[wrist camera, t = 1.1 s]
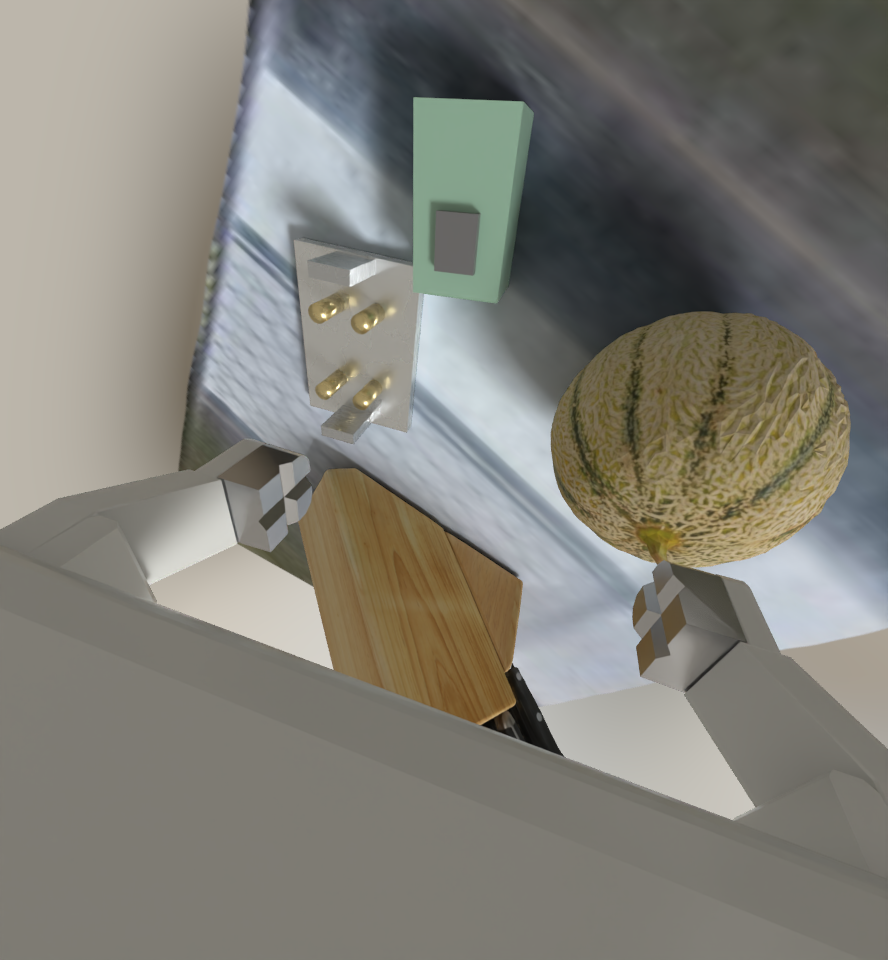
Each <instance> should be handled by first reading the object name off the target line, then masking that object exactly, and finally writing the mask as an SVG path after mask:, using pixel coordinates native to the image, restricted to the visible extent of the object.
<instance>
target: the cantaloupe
mask: <svg viewBox="0 0 888 960" xmlns="http://www.w3.org/2000/svg"><path fill="white" fill-rule="evenodd" d="M850 424H851V422H850V412H849V408H848V403H847V401H846V400H845V399H844V395H843V394H842V393H841V386H839V385H838V384H837V383H836V378H835V377H834V375H833V374H832V372H831V371H830V370H829V369H827V368H826V367H825V366H824V365H823V364H822V362H820V359H819V358H817V355H816V352H815V351H814V349H813V348H812V347H811V346H810V345H809V344H808V343H807V342H806V341H805V340H804V339H802V338H801V337H799V336H798V335H796V334H794V333H792V332H791V331H789V330H788V329H786V328H785V327H783V326H781V325H779V324H778V323H777V322H774V321H770V320H768V319H767V318H766V317H759V316H755V315H753V314H751V313H746V314H742V313H725V314H722V313H717V312H706V311H704V312H689V313H683V314H677V315H673V316H672V315H671V316H668V317H666V318H663V319H660V320H658V321H656V322H654V323H652V324H650V325H647V326H643V327H639V328H636V329H635V330H633V331H631V332H628V333H626V334H624V335H622V336H620V337H619V338H617V339H616V340H615V341H614V342H612V343H611V344H609V345H608V346H607V347H605V348H604V349H603V350H602V351H601V352H600V353H598V354H597V355H596V356H595V357H594V358H593V359H592V361H591V362H590V363H589V364H588V365H587V366H586V367H585V368H584V369H583V370H581V371H580V372H579V373H578V374H577V376H576V377H575V378H574V379H573V381H572V382H571V384H570V386H569V387H568V388H567V390H566V392H565V393H564V395H563V396H562V398H561V399H560V401H559V404H558V407H557V410H556V413H555V416H554V421H553V423H552V429H551V452H552V459H553V467H554V473H555V477H556V481H557V485H558V487H559V490H560V492H561V495H562V497H563V498H564V500H565V501H566V503H567V504H568V506H569V507H570V508H571V510H572V512H573V513H574V515H575V516H576V517H577V518H578V519H579V520H580V521H582V522H583V523H584V524H585V525H586V526H588V527H589V528H590V529H591V530H592V531H593V532H594V533H595V534H596V535H597V536H598V537H600V538H601V539H602V540H604V541H605V542H607V543H608V544H610V545H612V546H613V547H615V548H616V549H618V550H621V551H624V552H627V553H629V554H631V555H634V556H636V557H638V558H640V559H643V560H646V561H649V562H654V563H657V565H658V564H659V563H660V562H662V561H663V560H666V561H669V562H673V563H676V564H680V565H683V566H687V567H708V566H714V565H718V564H722V563H727V562H732V561H740V560H744V559H748V558H751V557H754V556H757V555H759V554H762V553H766V552H767V551H769V550H770V549H772V548H774V547H776V546H778V545H779V544H781V543H783V542H784V541H786V540H788V539H789V538H790V537H791V536H793V535H794V534H795V533H796V532H798V531H799V530H800V529H801V528H803V527H804V526H805V525H806V524H807V523H808V522H809V521H811V520H812V519H813V518H814V517H815V516H817V515H818V514H819V513H820V512H821V511H822V509H823V506H824V504H825V502H826V500H827V499H828V498H829V497H830V496H831V495H832V494H833V493H834V492H835V490H836V488H837V486H838V483H839V481H840V479H841V477H842V475H843V473H844V471H845V469H846V466H847V464H848V456H849V433H850Z"/></svg>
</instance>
